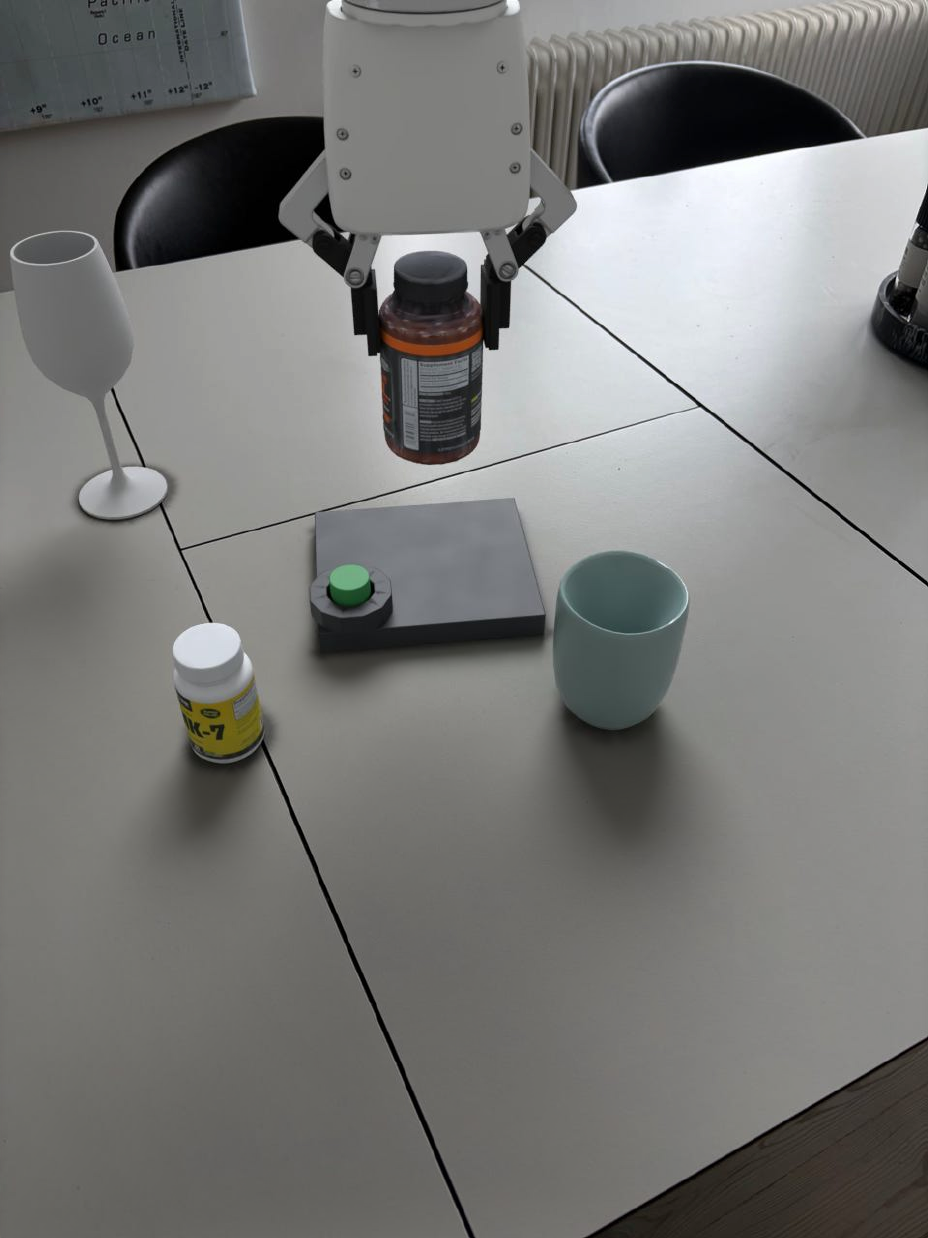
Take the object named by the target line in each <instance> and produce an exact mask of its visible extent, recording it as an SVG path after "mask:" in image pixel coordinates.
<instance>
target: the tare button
mask: <svg viewBox="0 0 928 1238" xmlns="http://www.w3.org/2000/svg"><path fill="white" fill-rule="evenodd" d="M329 583H330V592H331V597H332V599H333V601H334V602H335V603H337V604H339V605H342V606H358V605H360V604H362V603H364V602H366V601H367V600H368V599H369V597H370V595H371V587H370V576H369V573H368V571H367V570H366V569H365V568H363V567H361V566H358V565H343V566H340V567H338V568H336V569H335V570H333V571H332V573H331V574H330V577H329Z"/></svg>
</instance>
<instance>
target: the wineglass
mask: <svg viewBox="0 0 928 1238" xmlns="http://www.w3.org/2000/svg"><path fill="white" fill-rule="evenodd" d="M9 253H10V254H9V258H10V269H11V277H12V285H13V293H14V299H15V305H16V311H17V316H18V320H19V325H20V330H21V335H22V339H23V341H24V344H25V348H26V350H27V352H28V354H29V357H30V359H31V361H32V362H33V364H34V365H35V366H36V368H37V369H38V370H39V372H40V373H41V374H42V375H43V376H44V378H46V379H48V380H49V381H50V382H52V383H53V384H55V385H56V386H58V387H59V388H61V389H63V390H64V391H68V392H70V393H72V394H75V395H78V396H80V397H83V398H86V399H87V400H88V401H89V402H90V403H91V405H92V407H93V409H94V411H95V413H96V418H97V420H98V425H99V427H100V431H101V435H102V438H103V441H104V445H105V448H106V452H107V455H108V459H109V462H110V465H111V469H110V470H109V469H108V470H107V471H105V472H102V473H99V474H97V475H96V476H94V477H91V478H90V480H89V481H87V482H86V483H85V484H84V485H83V486H82V488H81V490H80V491H79V495H78V501H79V505H80V507H81V509H82V510H83V511H84V512H85V513H86V514H88V515H90V516H91V517H95V518H97V519H103V520H111V521H112V520H115V521H116V520H118V521H119V520H125V519H131V518H134V517H137V516H141V515H143V514H146V513H148V512H151V510H154V509H155V508H156V507H158V506H159V505H160V504H161V502H163V501H164V500H165V497H166V496H167V494H168V489H169V486H168V482H167V479H166V478H165V477H164V476H163V474H162V473H161V472H159V471H157V470H155V469H151V468H149V467H143V466H125V467H122V465H121V461H120V458H119V454H118V450H117V447H116V444H115V439H114V437H113V433H112V429H111V425H110V422H109V418H108V414H107V411H106V404H105V403H106V402H105V399H106V395H107V394H108V393H109V392H110V391H111V390H112V389H113V388H114V387H115V386H116V385H117V384H118V383H119V382H120V380H121V379H122V378H123V377H124V375H125V373H126V372H127V369H128V368H129V366H130V364H131V362H132V358H133V352H134V347H135V343H134V342H135V341H134V334H133V328H132V324H131V319H130V316H129V313H128V310H127V306H126V304H125V301H124V299H123V296H122V293H121V290H120V288H119V285H118V282H117V280H116V278H115V275H114V273H113V271H112V268H111V267H110V263H109V262H108V260H107V257H106V255H105V253H104V250H103V249H102V247H101V245H100V243H99V241H98V239H97V238H96V237H95V236H94V235H91V234H89V233H87V232H84V231H79V230H78V231H77V230H57V231H56V230H55V231H48V232H47V231H46V232H43V233H39V234H34V235H31V236H29V237H26V238H24V239H22V240H20V241H18V242H16V243H15V245H13V246H12V247H11V249H10V251H9Z"/></svg>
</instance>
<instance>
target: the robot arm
mask: <svg viewBox="0 0 928 1238" xmlns="http://www.w3.org/2000/svg"><path fill="white" fill-rule="evenodd" d="M325 6H326V7H325V13H324V23H323V33H322V37H323V38H322V55H321V56H322V58H321V60H322V61H321V63H322V65H321V66H322V67H321V68H322V69H321V71H322V73H321V75H322V76H321V80H322V81H321V82H322V83H321V86H322V88H321V89H322V109H323V110H322V111H323V137H324V149H323V150H322V151H321V153H320V154H319V155H318V156H317V157H316V159H315V160H314V161H313V162H312V164H311V165H310V166H309V167H308V169H306V171H305V172H304V173H303V174H302V176H301V177H300V178H299V180H298V181H296V183H295V185H294V186H293V187H292V188H291V189H290V191H289V192H288V193H287V194H286V195H285V196H284V198H283V199H282V201H281V202H280V203H279V207H278V208H279V209H278V220H279V222H280V224H281V225H282V226H283V227H285V228H286V229H287V231H289V232H290V233H292V235H294V236H295V237H297V239H299V240H300V241H302V243H304V244H306V245H308V246H309V247H310V248H311V249H312V250H313V253H314V254H315V255H316V256H317V257H318V258H320V259H321V260H322V261H323V262H324V263H326V264H327V265H328V266H329V267H330V268H332V270H334V271H335V272H336V273H337V274H339V275H340V276H341V278H343V280H344V283H345V285H347V287H349V288H350V299H351V314H352V325H353V336H366V342H367V345H366V346H367V356H368V357H377V356H378V354H380V353H381V349H380V331H379V300H378V299H379V298H378V297H379V296H378V287H377V286H378V285H377V275H376V274H377V273H376V269H375V268H373V267H372V266H373V263H374V260H375V257H376V255H377V251H378V248H379V245H380V242H381V240H382V237H386V236H387V237H388V236H390V237H392V236H419V235H421V236H422V235H443V234H445V235H446V234H467V233H470V234H471V233H480V235H481V236H480V237H481V238H482V240H483V243H484V245H485V247H486V248H485V249H486V251H487V254H486V255H485V259H483V264H480V281H479V282H480V283H479V284H480V291H479V295H480V296H479V303H480V305H481V308H482V311H483V318H484V331H483V335H484V339H483V345H484V347H485V349H488V351H499V349H500V330H501V329H510V326H511V300H512V299H511V298H512V281H514V280H515V279H516V278H517V277H518V275H519V271H520V269H521V268H522V267H523V266H524V264H526V263H527V262H528V261H529V260H530V259H531V258H532V257H533V256H534V255H535V254H536V253H537V252H538V251H539V250H540V249H541V248H542V247H543V246H544V245H545V243H546V242H547V238H549V237H550V236H551V235H552V234H554V233H555V232H556V231H558V229H560V227H562V226H563V224H565V223H566V222H567V221H568V220H569V219H570V218H571V217H572V216H574V214H575V213H576V211H577V209H578V202H577V201H576V199H575V196H574V194H573V192H572V191H571V189H569V188H568V186H567V185H566V184H565V183H564V181H562V179H560V178H559V176H558V175H557V174H556V173H555V171H553V170H552V169H551V168H550V166H549V165H548V164H547V163H546V162H545V161H544V160H543V158H542V157H540V155H539V154H538V153H537V152H536V151H535V150H534V149H533V147H532V146H531V123H530V120H531V119H530V113H531V112H530V90H529V87H530V86H529V75H528V61H527V48H526V40H525V32H524V24H523V18H522V11H521V6H520V1H519V0H330V1H328V2H327V3H326V5H325ZM530 190H532V191H533V193H535V194H536V196H538V197H539V199H540V202H539V203H538V205H537V206H536V207H535V208H534V210H533V211H532V212H531V213H530V214H528V215H527V212H528V209H529V204H530V203H529V202H530V192H531V191H530ZM327 195H328V198H329V204H330V209H331V215H332V219H333V221H334V224H335V225H336V226H337V227H338V228H339V229H341V230H342V231H344V232H346V233H349V234H348V237H347V238H346V237H345V236H344V235H343V234H341V233H340V231H338V229H336V228H335V227H334V226H332V225H331V224H330V223H327V222H325V221H324V220H322V218H321V217H320V216H319V215H318V214H317V213H316V212H315V210H316V208H317V207H318V205H319V204H320V203H321V202H322V201H323V200H324V198H325V197H326V196H327ZM511 227H513V228H512V229H511V230H510V231H509V232H508V233H507V231H506V229H509V228H511Z"/></svg>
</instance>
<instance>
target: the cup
mask: <svg viewBox="0 0 928 1238" xmlns="http://www.w3.org/2000/svg"><path fill="white" fill-rule="evenodd" d="M690 598H691V597H690V594H689V589H688V587H687V586H686V584H685V582H684V581H683V579H682V578H681V577H680V575H678V574H677V573H676V571H675V570H673V569H671V568H670V567H669V566H668V565H667V564H665V563H663V562H661V561H659V560H658V559H656V558H653V557H651V556H648V555H646V554H643V553H639V552H635V551H628V550H608V551H601V552H597V553H595V554H591V555H589V556H586V557H584V558H582V559H580V560H579V561H577V562H576V563H574V564H573V565H572V566H571V567H569V568H568V569H567V570H566V572H565V573H564V574H563V576H562V578H561V579H560V582H559V585H558V589H557V594H556V600H555V610H554V611H555V612H554V623H553V635H552V639H553V640H552V668H553V675H554V681H555V686H556V688H557V691H558V694H559V696H560V698H561V700H562V702H563V703H564V704H565V706H566V707H567V709H568V710H569V711H570V712H571V713H572V714H573V715H574V716H575V717H576V718H578V719H580V720H581V721H583V722H584V723H586V724H588V725H590V726H592V727H594V728H597V729H601V730H606V731H619V730H625V729H628V728H631V727H634V726H636V725H638V724H640V723H642V722H643V721H645V720H646V719H648V718H649V717H650V716H652V714H654V712H655V711H656V710H657V709H658V707H659V706H660V705H661V704H662V703H663V701H664V699H665V697H666V695H667V693H668V691H669V689H670V686H671V684H672V682H673V679H674V676H675V673H676V671H677V666H678V664H679V659H680V656H681V653H682V652H681V651H682V647H683V643H684V638H685V634H686V630H687V629H686V628H687V624H688V619H689V612H690V601H691V599H690Z"/></svg>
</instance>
